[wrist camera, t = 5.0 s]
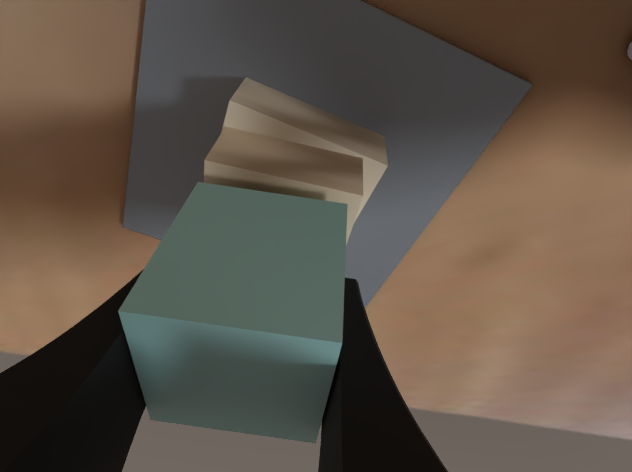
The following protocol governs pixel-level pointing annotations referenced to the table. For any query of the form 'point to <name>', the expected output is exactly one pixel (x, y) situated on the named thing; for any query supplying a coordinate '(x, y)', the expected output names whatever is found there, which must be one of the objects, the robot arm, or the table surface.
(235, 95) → the tower base
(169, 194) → the felt mat
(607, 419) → the table surface
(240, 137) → the tower mid
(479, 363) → the table surface
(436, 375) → the table surface
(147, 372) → the teal block
